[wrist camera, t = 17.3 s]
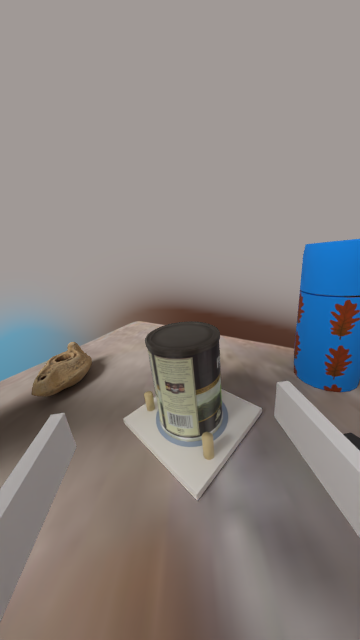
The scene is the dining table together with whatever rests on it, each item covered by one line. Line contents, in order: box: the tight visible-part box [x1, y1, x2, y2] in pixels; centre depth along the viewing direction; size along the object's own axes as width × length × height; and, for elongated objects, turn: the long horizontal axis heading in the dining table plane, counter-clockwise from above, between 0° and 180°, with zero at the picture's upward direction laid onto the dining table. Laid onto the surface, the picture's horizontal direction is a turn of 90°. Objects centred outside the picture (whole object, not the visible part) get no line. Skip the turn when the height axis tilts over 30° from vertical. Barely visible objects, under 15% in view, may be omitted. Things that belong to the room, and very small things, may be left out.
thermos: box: [294, 239, 360, 392], centre depth 35 cm, size 11×11×25 cm
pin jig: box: [123, 389, 262, 501], centre depth 31 cm, size 16×16×4 cm
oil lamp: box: [32, 342, 92, 397], centre depth 44 cm, size 11×15×8 cm
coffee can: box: [145, 322, 223, 442], centre depth 29 cm, size 10×10×14 cm
